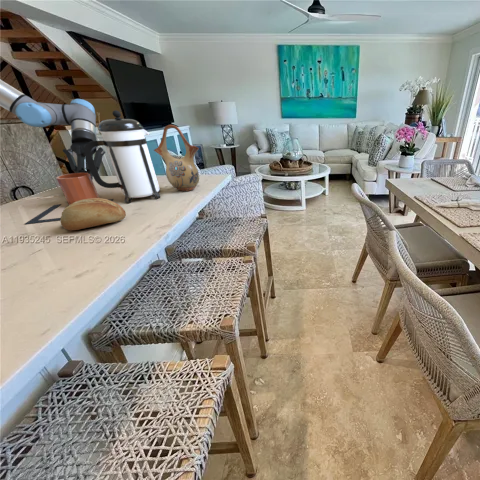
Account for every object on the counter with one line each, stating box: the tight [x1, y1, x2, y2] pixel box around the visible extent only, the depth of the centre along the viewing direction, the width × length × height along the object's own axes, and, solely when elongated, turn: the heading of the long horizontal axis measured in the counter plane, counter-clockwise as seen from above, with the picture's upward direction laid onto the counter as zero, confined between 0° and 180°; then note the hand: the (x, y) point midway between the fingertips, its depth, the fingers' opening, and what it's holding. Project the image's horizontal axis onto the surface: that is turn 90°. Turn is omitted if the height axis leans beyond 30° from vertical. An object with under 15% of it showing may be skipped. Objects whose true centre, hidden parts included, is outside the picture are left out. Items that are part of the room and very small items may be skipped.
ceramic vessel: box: [153, 124, 200, 192], centre depth 104 cm, size 16×9×25 cm, turn 99°
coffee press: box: [84, 109, 161, 204], centre depth 94 cm, size 17×16×30 cm
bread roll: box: [59, 197, 127, 231], centre depth 76 cm, size 10×15×8 cm, turn 125°
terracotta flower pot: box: [55, 172, 100, 206], centre depth 94 cm, size 9×9×10 cm
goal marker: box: [24, 198, 114, 225], centre depth 89 cm, size 18×18×1 cm
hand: (85, 187), depth 98 cm, fingers closed
